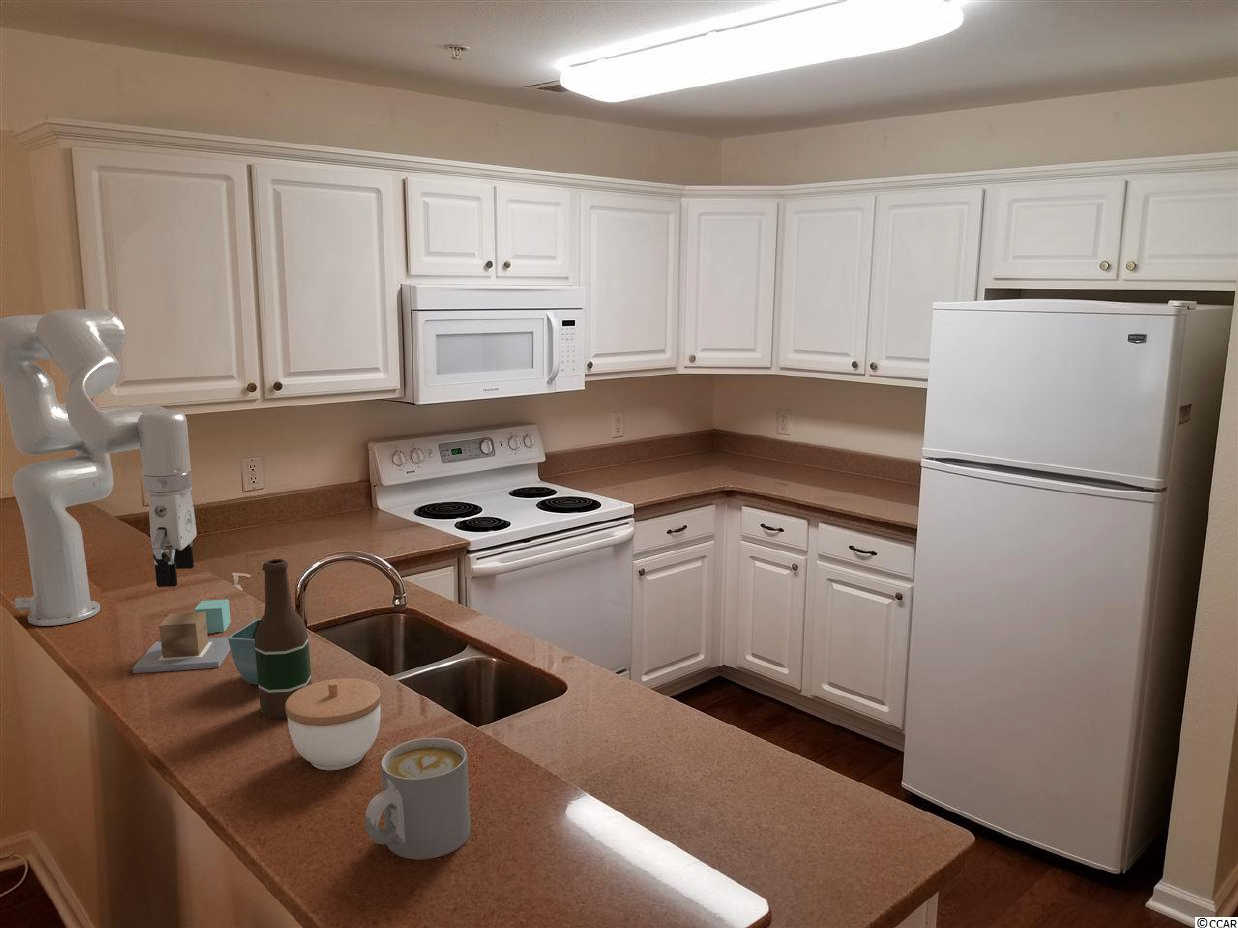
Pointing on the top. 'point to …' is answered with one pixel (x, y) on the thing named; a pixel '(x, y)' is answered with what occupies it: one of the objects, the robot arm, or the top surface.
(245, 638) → the flower pot
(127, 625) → the top surface
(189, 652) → the walnut block
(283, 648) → the beer bottle
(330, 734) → the lidded bowl
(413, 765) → the coffee mug
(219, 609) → the teal block
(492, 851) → the top surface
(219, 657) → the pad
